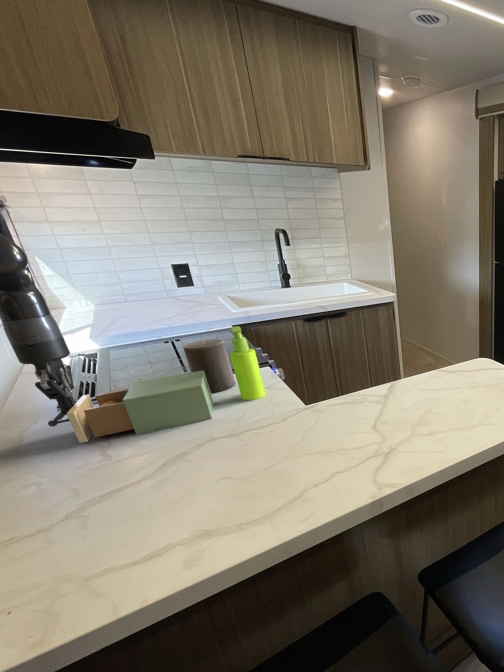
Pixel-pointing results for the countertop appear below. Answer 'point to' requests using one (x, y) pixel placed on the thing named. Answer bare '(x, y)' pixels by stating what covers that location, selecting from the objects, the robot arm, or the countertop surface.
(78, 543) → the countertop surface
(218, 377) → the pillar candle
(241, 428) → the countertop surface
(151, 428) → the cabinet
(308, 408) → the countertop surface
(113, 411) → the drawer
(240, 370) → the soap dispenser
